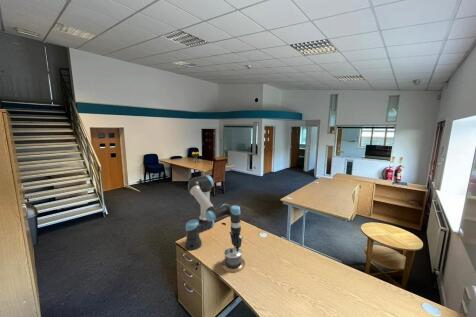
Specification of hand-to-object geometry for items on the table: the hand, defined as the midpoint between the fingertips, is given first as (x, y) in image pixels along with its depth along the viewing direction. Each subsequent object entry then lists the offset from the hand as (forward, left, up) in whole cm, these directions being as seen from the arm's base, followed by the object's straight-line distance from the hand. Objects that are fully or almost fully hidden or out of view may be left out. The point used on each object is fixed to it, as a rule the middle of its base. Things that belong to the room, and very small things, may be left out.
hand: (236, 254), depth 163 cm
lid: (-4, 0, -1) cm, 5 cm away
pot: (-4, 0, -11) cm, 12 cm away
